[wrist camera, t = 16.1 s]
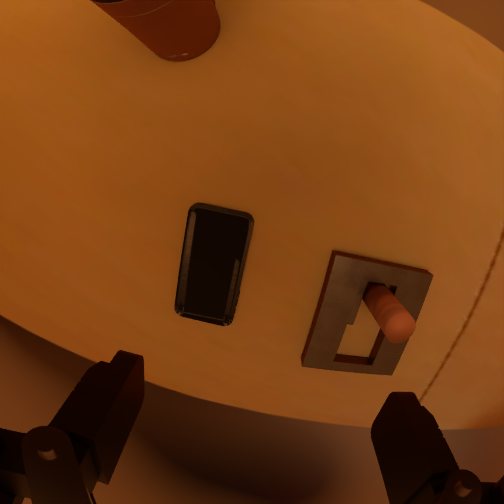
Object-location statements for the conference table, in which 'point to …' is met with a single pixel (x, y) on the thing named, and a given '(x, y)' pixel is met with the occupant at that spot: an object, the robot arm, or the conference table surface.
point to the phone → (212, 263)
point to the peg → (388, 312)
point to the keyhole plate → (346, 307)
